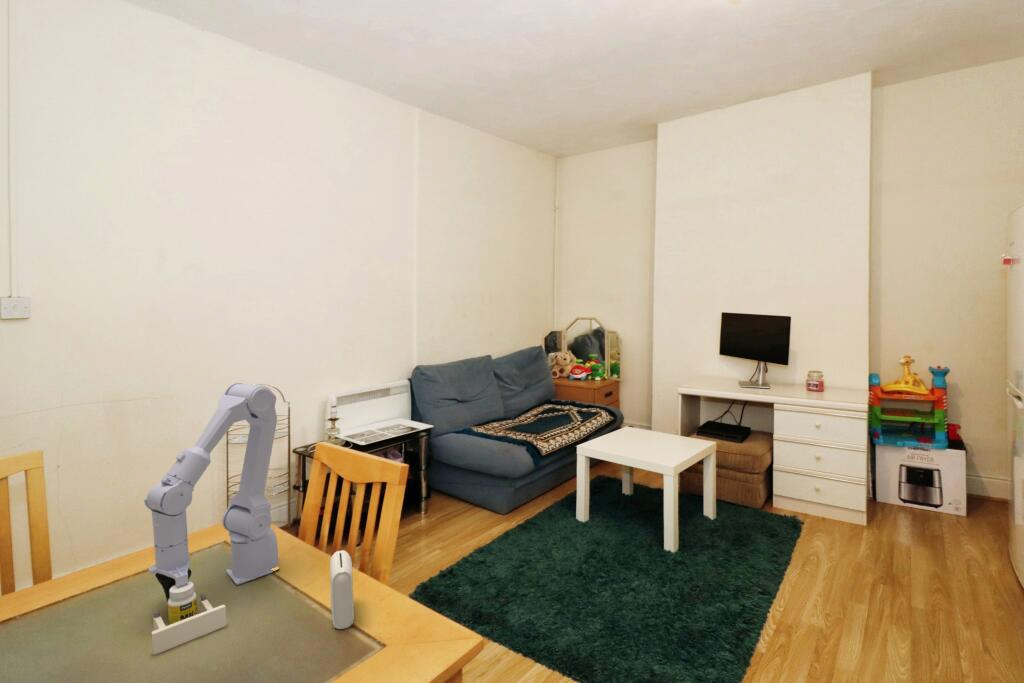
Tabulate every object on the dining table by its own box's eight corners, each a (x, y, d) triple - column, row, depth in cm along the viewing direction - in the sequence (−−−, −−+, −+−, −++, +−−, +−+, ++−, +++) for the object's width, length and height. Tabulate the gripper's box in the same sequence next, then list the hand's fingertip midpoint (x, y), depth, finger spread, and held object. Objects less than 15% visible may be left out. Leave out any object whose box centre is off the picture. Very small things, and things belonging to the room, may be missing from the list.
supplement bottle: (181, 638, 100) (179, 596, 99) (163, 633, 102) (160, 591, 101) (203, 623, 105) (201, 582, 104) (185, 618, 106) (183, 578, 105)
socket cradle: (214, 608, 109) (213, 589, 109) (226, 625, 104) (225, 606, 103) (145, 634, 101) (143, 614, 101) (154, 655, 95) (152, 634, 95)
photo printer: (330, 602, 111) (328, 546, 110) (352, 598, 113) (350, 543, 112) (332, 632, 102) (329, 571, 101) (355, 627, 103) (353, 567, 102)
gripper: (140, 535, 109) (144, 598, 111) (156, 561, 99) (160, 629, 100) (179, 525, 114) (183, 584, 116) (198, 548, 104) (202, 613, 105)
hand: (175, 604), depth 108 cm, fingers closed
